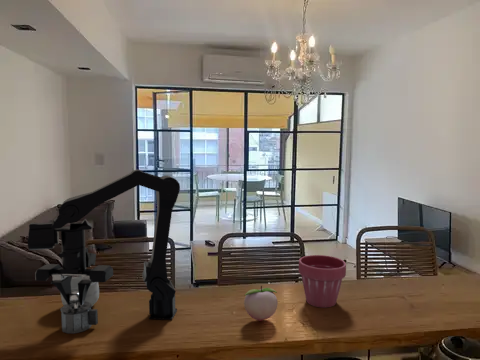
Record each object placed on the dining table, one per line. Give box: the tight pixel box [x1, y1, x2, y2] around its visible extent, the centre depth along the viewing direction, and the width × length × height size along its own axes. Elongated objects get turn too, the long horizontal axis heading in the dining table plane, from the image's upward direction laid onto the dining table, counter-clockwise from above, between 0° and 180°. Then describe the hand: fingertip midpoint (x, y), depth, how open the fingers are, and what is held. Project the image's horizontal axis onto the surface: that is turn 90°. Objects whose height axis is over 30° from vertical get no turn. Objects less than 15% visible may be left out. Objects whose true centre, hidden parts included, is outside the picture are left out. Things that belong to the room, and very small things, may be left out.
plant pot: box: [298, 254, 347, 308], centre depth 122 cm, size 14×14×13 cm
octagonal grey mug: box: [59, 302, 99, 334], centre depth 105 cm, size 9×7×6 cm
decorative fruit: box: [243, 285, 279, 322], centre depth 108 cm, size 9×8×10 cm
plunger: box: [69, 291, 80, 309], centre depth 105 cm, size 5×5×8 cm
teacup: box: [59, 276, 100, 307], centre depth 120 cm, size 14×11×8 cm
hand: (76, 304), depth 105 cm, fingers closed on plunger, 3 cm apart
